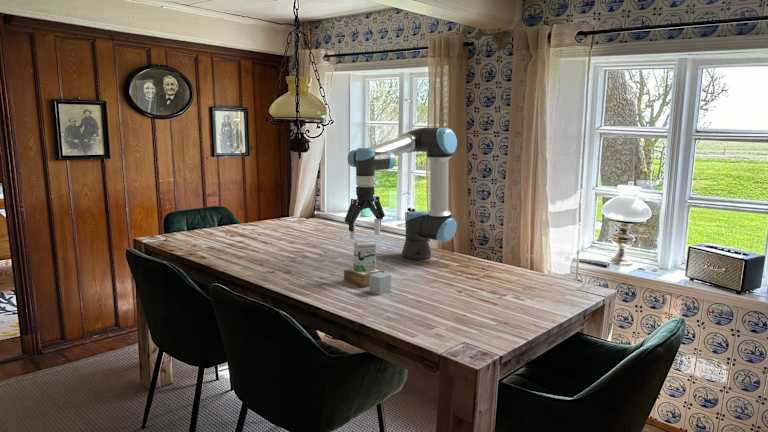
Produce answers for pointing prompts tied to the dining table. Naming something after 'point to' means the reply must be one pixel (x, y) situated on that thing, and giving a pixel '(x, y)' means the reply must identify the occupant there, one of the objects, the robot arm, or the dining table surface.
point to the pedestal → (359, 277)
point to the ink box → (364, 256)
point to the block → (380, 283)
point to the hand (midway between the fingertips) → (365, 236)
